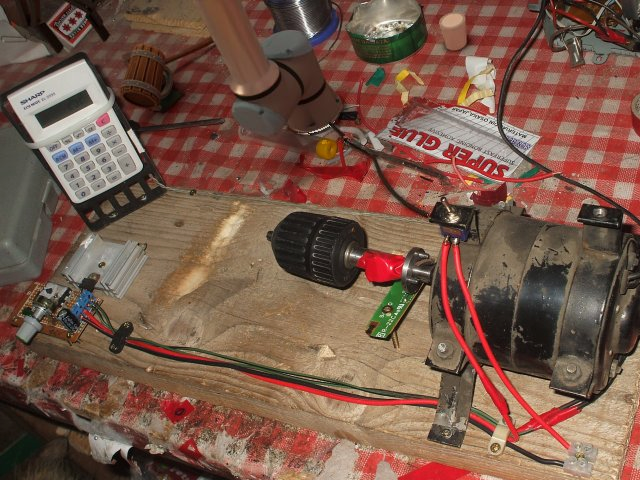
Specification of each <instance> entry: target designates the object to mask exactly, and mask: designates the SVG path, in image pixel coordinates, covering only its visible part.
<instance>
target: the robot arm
mask: <svg viewBox="0 0 640 480" xmlns="http://www.w3.org/2000/svg"><path fill="white" fill-rule="evenodd" d="M62 1H64V2H65V3H67V4H69V5H70V6H73V7H74V8H75V9H76V8H77V9H78V10H80V11H82V12H84V13H85V16H84V17H85V19H86V20H87V21H88V22H89V24H90V25H91V27H92V28H93V30H94V31H95V32H96V34H97V35H98V36H99V38H100V40H101V41H102V42H103V43H105V42H107V41H108V39H109V38H110V36H111V34H110V32H109V31H108V29H107V28H106V26H105V25H104V20H103V18H102V17H101V16H100V14H99V12H98V11H97V7H98V6H99V4H100V0H62ZM192 2H193V4H194V6H195V9H196V10H197V12H198V14H199V16H200V18H201V20H202V22H203V23H204V25H205V27H206V29H207V31H208V34H209V35H210V37H212V39H213V41H214V43H213V44H215V47H216V49H217V50H218V52H219V54H220V56H221V58H222V60H223V62H224V64H225V66H226V67H227V69H228V72H229V73H230V75H231V77H230V79H229V88H230V90H231V92H232V94H233V95H234V97H235V102H233V104H232V107H231V115H232V116H233V118H234V120H235V121H236V122H237V123H238V124H239V125H240V126H241V127H242V128H244V129H245V130H247V131H249V132H251V133H253V134H255V135H258V136H262V137H266V138H267V137H268V138H271V137H275V136H277V135H278V134H280V133H281V131H282V130H283V128H284V127H285V126H286V125H287V126H288V128H289V129H290V130H291V132H292V133H294V132H295V133H294V134H296V133H298V132H299V133H308V134H310V135H311V136H315V135H316V136H317V135H319V134H322V133H324V132H326V131H328V130H330V129H331V128H332V130H333V131H335V132H336V133H337V134H338V135H339V136H340V137H341V138H343V136H345V135H346V134H345V132H343V131H342V130H341V129H339V127H337V125H336V124H337V123H338V122H339V121H340V119H341V118H342V117H343V113H344V104H343V101H342V99H341V97H340V95H339V94H338V93H337V92H336V91H335V90H334V88H333V87H332V86H331V85H330V84H329V83H328V82H327V81H326V80H327V79H326V78H325V76H324V73H323V71H322V67H321V66H320V63H319V61H318V57H317V55H316V53H315V50H314V46H313V45H312V44H311V42H310V39H309V37H308V36H307V35H306V34H305V33H304V32H302V31H300V30H296V29H286V30H281V31H278V32H275V33H273V34H270V35H269V36H267V37H266V38H265V39H264V40H263V41H262V42H260V40H259V37H258V35H257V33H256V31H255V28H254V26H253V24H252V22H251V20H250V17H249V15H248V13H247V11H246V9H245V6H244V4H243V2H242V0H192ZM14 3H15V6H16V9H17V11H18V14H19V18H20V21H21V23H22V26H23V28H25V29H28V28H32V29H34V30H35V31H36V32H37V34H38V35H39V36H40V37H41V39H42V40H44V41H46V42H47V43H48V44H49V45H50V47H51V48H52V49H53V50H54V52H55V53H56V54H60V53H61V52H62V50H63V49H64V48H65V46H64V44H63V43H62V41H61V40H60V39H59V38H58V36H57V35H56V34H55V33H54V32H53V30H52V29H51V27H50V26H49V25H48V24H47V22H46V21H43V19H42V14H41V13H42V12H41V11H42V10H41V0H14ZM28 3H29V4H28ZM339 112H341V114H340V116H339V117H338V114H339ZM337 117H338V118H337ZM334 121H335V122H334ZM333 122H334V123H333ZM328 124H329V125H330V126H331V127H330V126H329V127H327V128H325V129H323V130H321V131H318V132H314V133H309V132H312V131H315V130H318V129H321V128H323V127H325V126H327V125H328ZM360 150H361V151H363V152H365V153H366V154H367V155H368V156H369V157H370V159H371V160H372V162H373V165H374V167H375V169H376V173H377V174H378V176H379V178H380V180H381V181H382V183H383V185H384V187H386V189H387V190H388V192H389V193H391V195H392V196H393V197H394V198H395V199H397V200H398V202H400V203H401V204H403V205H404V206H405V207H407V208H408V209H410V210H411V211H414V212H415V213H418V214H419V215H422V216H424V217H426V218H428V216H429V214H430V213H429V212H427V211H425V210H423V209H421V208H419V207H417V206H415V205H413V204H411V203H410V202H409V201H407V200H405V198H403V196H401V195H400V194H398V193H397V191H396V190H395V189H394V188H393V187H392V185H390V182H388V180H387V179H386V177H385V175H384V173H383V172H382V170H381V167H380V164H379V161H378V159H377V156H376V155H375V154H374V153H373V152H372V154H373V155H374V156H373V155H370V154H369V153H368V152H367V151H366V150H362V149H360ZM427 214H428V216H427Z"/></svg>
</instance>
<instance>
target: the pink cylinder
mask: <svg viewBox="0 0 640 480" xmlns="http://www.w3.org/2000/svg"><path fill="white" fill-rule="evenodd" d="M438 24H439V28H440V32H441V34H442V37H443V41H444V44H445V47H446V49H448V50H449V51H458V50H461V49H463V48H464V47H465V46H466V45H467V43H468V39H467V23H466V16H465V14H464V13H463V12H458V11H452V12H449V13H446V14H445V15H443V16H442V17H441V18H440V19H439V21H438Z"/></svg>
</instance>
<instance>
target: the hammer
mask: <svg viewBox="0 0 640 480" xmlns="http://www.w3.org/2000/svg"><path fill="white" fill-rule="evenodd" d="M212 44H215V43H214V41H213V39H212V37H211V36H210V37H209V38H206V39H205V40H202V41H201V42H199V43H196V44H194V45H192V46H191V47H189V48H187V49H185V50H183V51H181V52H180V51H179V52H178V53H175V54H173V55H171V56H169V57H165V66H167V65H168V64H171V63H173V62H175V61H177V60H180V59H182V58H185V57H187V56H189V55H192V54H193V53H196V52H197V51H200V50H202V49H204V48H206V47H208V46H210V45H212ZM133 51H134V50H132V51H129V52H127V53H124V54H122V55H121V58H122V60H123V61H122V62H123V64H124V66H125V67H127V68H128V66H129V63H130V57H131V54H132V52H133ZM165 79H166V75H165V74H164V73H163V79H162V85H164V86H165V85H166V80H165Z"/></svg>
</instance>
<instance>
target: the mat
mask: <svg viewBox="0 0 640 480" xmlns="http://www.w3.org/2000/svg"><path fill="white" fill-rule="evenodd" d="M165 86H166V85H165V84H164V85H162V87H161V93H162V92H163V90H164V88H165ZM183 96H184V94H183V93H181V92H179V91H177V90H175V89H172V88H171V91H170V93H169V94H168V95H167V96H166V97H164V98H162V99H160V103H159V105H160V106H161V107H162V108H161V110H160V111H159V112H161V113H162V114H164V113H165V112H166V111H168V110H169V109H170V108H171V107H172V106H173V105H175V103H176V102H177V101H179V100H180V98H182V97H183Z"/></svg>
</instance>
